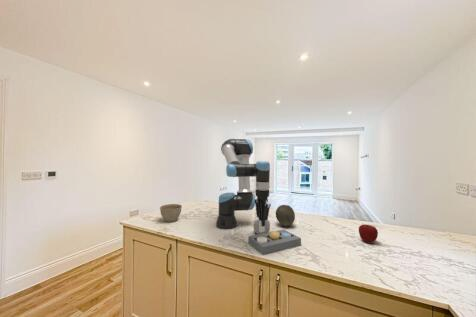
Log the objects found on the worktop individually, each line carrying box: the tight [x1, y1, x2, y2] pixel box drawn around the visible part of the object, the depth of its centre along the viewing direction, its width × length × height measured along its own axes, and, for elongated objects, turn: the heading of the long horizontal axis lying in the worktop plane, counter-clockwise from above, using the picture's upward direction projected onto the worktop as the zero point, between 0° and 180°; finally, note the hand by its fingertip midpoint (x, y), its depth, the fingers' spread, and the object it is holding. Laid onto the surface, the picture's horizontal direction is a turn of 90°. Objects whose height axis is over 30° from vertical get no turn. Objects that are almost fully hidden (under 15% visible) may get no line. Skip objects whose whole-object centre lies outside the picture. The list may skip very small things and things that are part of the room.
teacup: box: [252, 218, 271, 235], centre depth 129 cm, size 14×11×8 cm
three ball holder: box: [247, 229, 302, 256], centre depth 112 cm, size 15×26×4 cm, turn 116°
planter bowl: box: [159, 203, 183, 223], centre depth 152 cm, size 16×16×11 cm
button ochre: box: [269, 230, 279, 241], centre depth 112 cm, size 6×6×4 cm
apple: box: [358, 224, 379, 244], centre depth 116 cm, size 10×10×10 cm
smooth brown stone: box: [275, 204, 296, 227], centre depth 143 cm, size 14×14×15 cm
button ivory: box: [257, 237, 267, 244], centre depth 108 cm, size 6×6×4 cm
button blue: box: [281, 231, 292, 238], centre depth 115 cm, size 6×6×4 cm
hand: (261, 231), depth 108 cm, fingers closed
